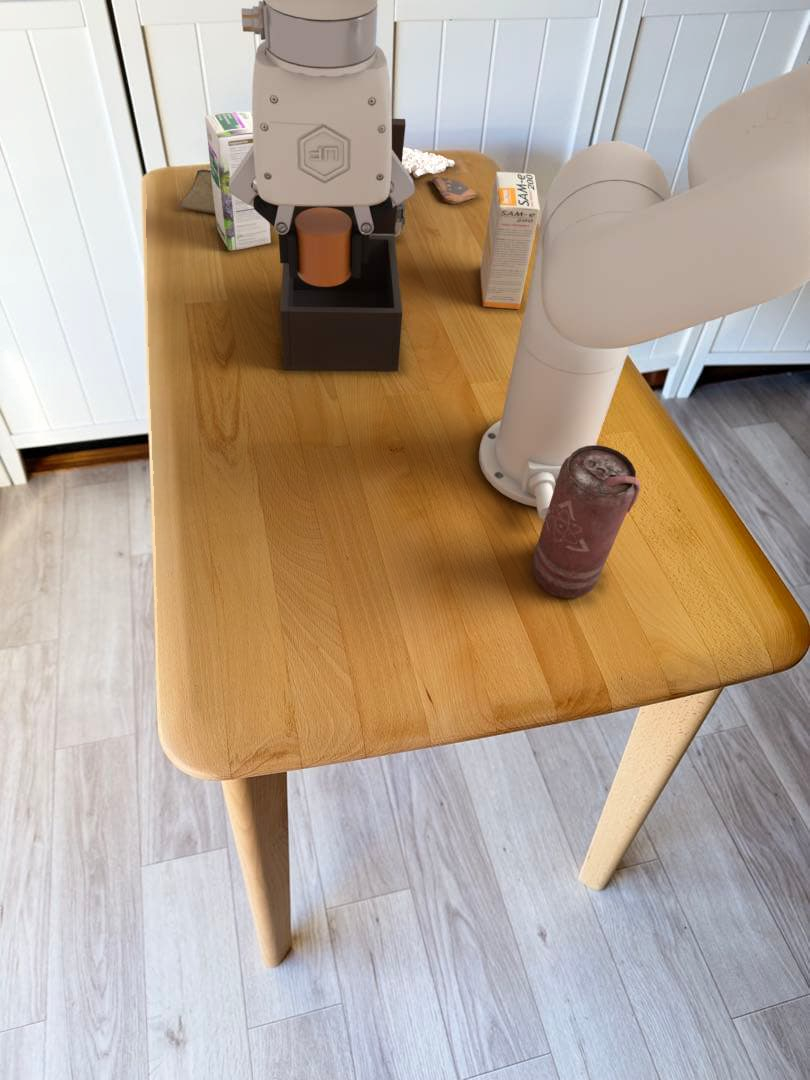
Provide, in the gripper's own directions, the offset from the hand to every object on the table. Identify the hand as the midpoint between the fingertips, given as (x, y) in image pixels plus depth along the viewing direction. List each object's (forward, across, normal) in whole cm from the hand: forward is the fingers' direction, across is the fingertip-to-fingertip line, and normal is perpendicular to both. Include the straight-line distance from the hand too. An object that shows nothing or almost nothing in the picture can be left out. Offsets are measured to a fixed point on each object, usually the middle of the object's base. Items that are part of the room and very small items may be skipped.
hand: (324, 266), depth 69 cm
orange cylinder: (0, 0, 0) cm, 0 cm away
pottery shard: (+19, +22, +49) cm, 57 cm away
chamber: (+19, +2, +17) cm, 26 cm away
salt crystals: (+16, +9, +51) cm, 55 cm away
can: (+20, +21, -19) cm, 35 cm away
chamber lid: (+4, +2, +21) cm, 22 cm away
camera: (+17, +6, +35) cm, 39 cm away
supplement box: (+20, +23, +25) cm, 39 cm away
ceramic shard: (+17, -13, +46) cm, 50 cm away
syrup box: (+20, -9, +36) cm, 42 cm away
